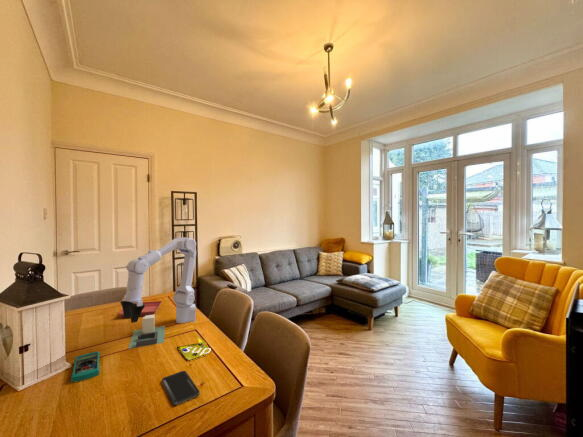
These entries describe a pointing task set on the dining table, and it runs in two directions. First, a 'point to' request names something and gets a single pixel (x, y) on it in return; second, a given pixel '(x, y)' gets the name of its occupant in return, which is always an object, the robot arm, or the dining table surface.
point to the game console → (195, 349)
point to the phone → (180, 387)
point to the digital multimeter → (85, 366)
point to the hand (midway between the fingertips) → (130, 319)
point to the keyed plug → (148, 324)
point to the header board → (147, 337)
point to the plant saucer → (147, 308)
